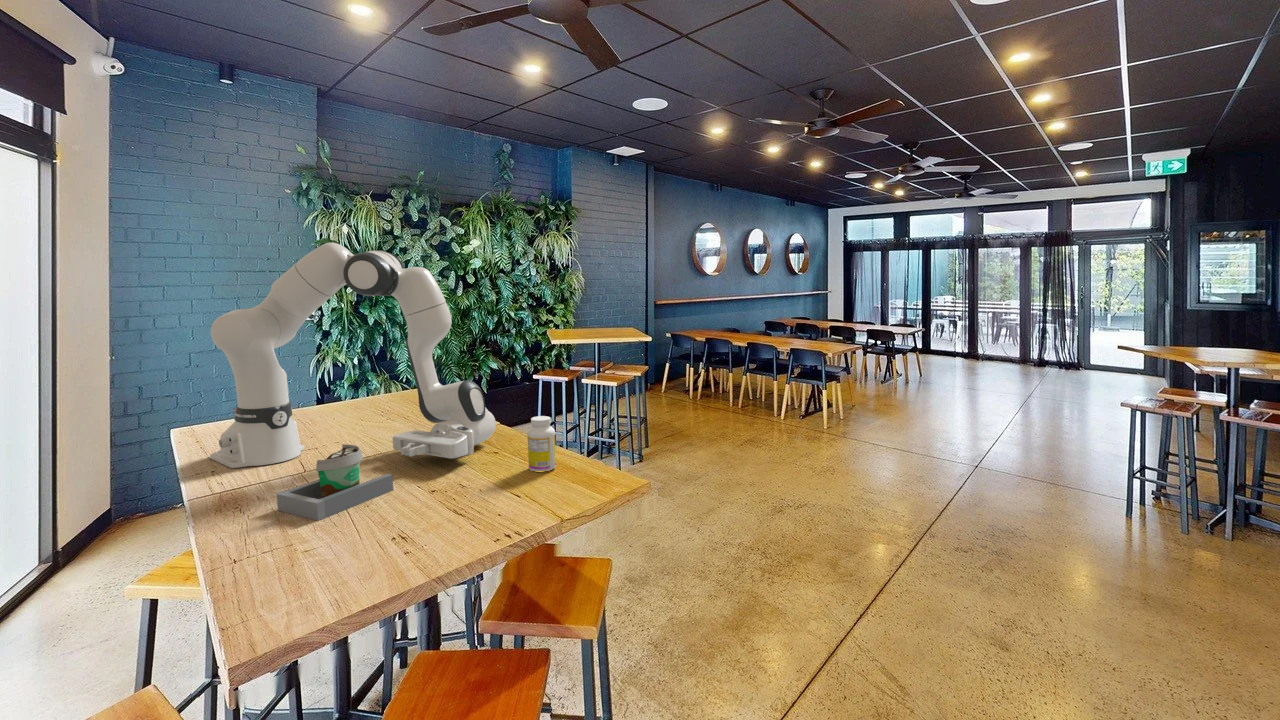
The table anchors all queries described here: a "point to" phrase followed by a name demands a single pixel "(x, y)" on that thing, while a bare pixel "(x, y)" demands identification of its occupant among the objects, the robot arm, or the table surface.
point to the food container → (339, 470)
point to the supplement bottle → (541, 444)
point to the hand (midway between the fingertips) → (405, 452)
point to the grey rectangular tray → (330, 498)
